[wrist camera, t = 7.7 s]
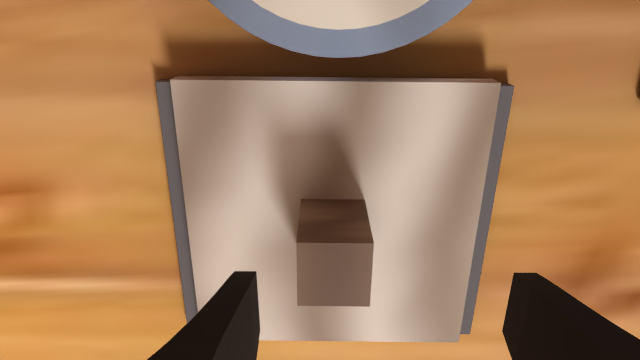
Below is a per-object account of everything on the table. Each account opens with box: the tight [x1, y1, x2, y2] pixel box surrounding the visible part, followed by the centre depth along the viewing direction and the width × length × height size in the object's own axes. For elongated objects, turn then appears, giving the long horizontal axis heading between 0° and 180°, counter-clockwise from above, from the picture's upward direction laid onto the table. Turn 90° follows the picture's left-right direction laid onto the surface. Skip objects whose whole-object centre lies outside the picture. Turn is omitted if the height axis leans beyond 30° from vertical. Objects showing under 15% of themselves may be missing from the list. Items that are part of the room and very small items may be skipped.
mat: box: [156, 79, 514, 334], centre depth 23 cm, size 16×14×1 cm
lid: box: [170, 76, 501, 342], centre depth 20 cm, size 14×14×5 cm
